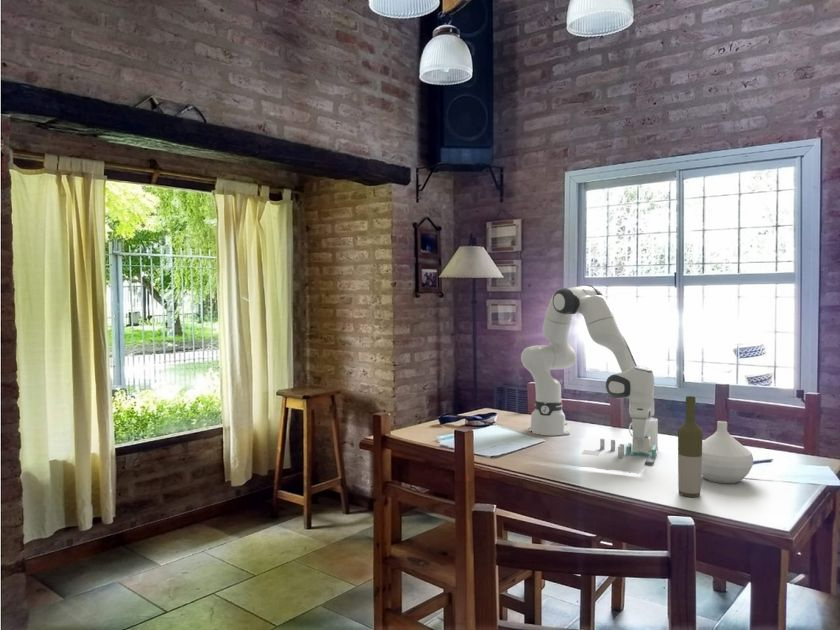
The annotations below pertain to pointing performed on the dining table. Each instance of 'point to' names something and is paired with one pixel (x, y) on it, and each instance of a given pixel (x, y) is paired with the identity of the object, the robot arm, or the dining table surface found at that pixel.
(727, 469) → the vase
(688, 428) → the bottle
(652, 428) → the mug
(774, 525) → the dining table surface
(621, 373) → the robot arm
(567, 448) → the dining table surface
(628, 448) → the end holder
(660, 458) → the dining table surface
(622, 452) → the board
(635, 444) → the box
